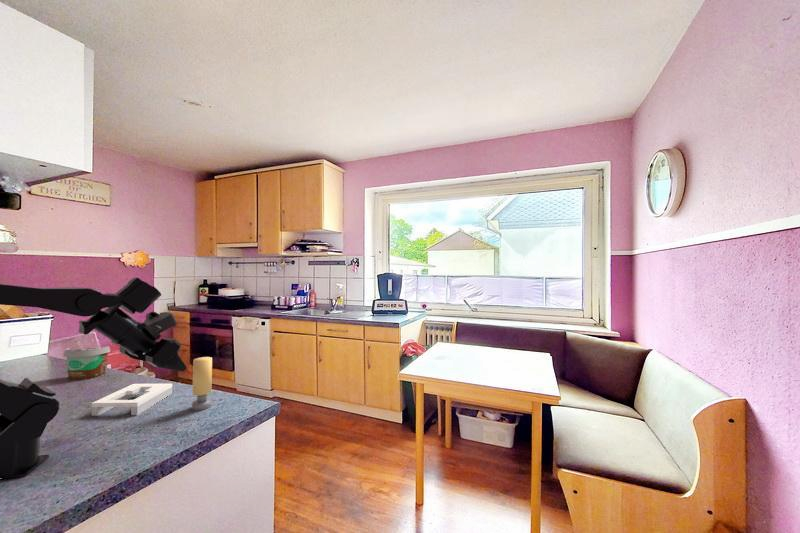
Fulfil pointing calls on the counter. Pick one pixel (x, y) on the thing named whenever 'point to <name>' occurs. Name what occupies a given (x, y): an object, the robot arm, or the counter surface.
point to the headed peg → (202, 382)
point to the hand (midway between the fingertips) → (175, 366)
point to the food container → (86, 362)
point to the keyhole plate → (137, 405)
